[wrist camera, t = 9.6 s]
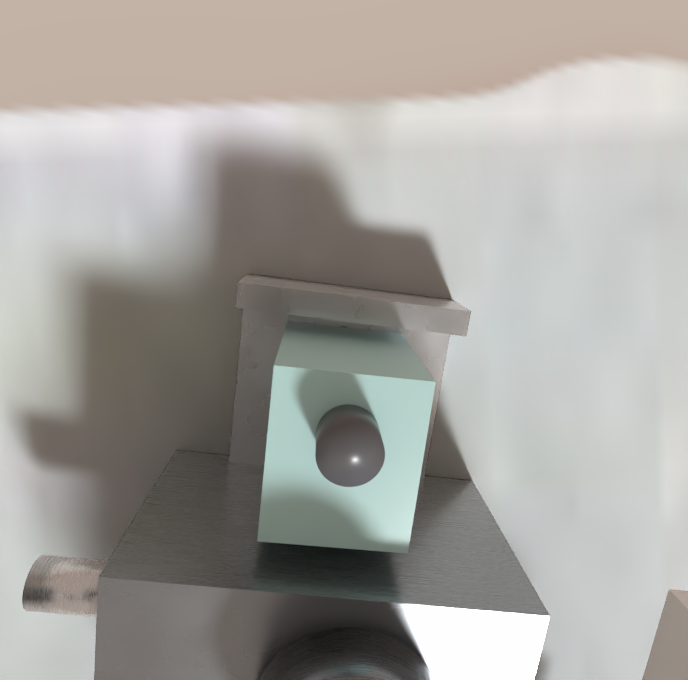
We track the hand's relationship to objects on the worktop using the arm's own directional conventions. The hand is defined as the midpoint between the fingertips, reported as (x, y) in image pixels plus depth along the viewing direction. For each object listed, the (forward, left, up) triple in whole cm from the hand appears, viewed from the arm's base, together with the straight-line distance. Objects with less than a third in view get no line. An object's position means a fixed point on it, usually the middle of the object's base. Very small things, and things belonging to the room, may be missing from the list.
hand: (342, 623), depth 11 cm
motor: (-2, -3, -14) cm, 15 cm away
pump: (0, 0, -14) cm, 14 cm away
